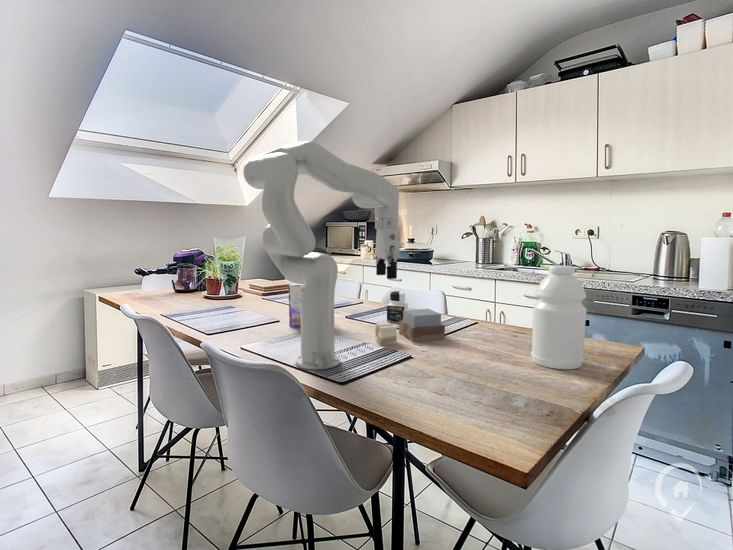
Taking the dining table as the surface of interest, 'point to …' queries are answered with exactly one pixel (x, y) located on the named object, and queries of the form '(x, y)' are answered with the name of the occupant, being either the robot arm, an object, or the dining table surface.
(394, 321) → the medicine bottle
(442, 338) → the walnut base block
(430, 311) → the slate top block
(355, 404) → the dining table surface
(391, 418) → the dining table surface
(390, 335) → the maple block
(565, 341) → the bottle
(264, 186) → the robot arm
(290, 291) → the candy box
